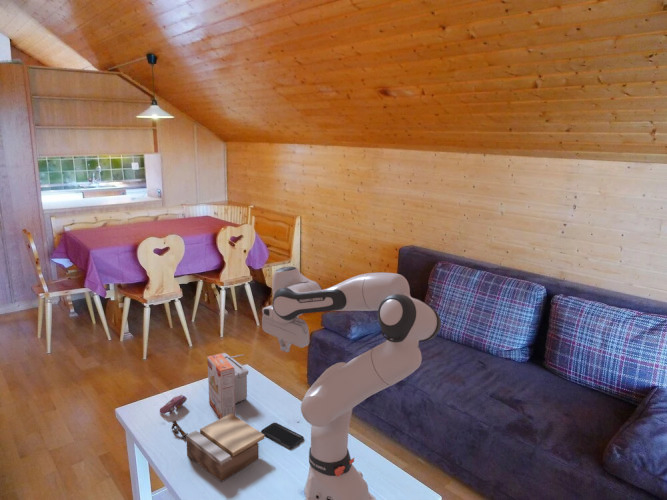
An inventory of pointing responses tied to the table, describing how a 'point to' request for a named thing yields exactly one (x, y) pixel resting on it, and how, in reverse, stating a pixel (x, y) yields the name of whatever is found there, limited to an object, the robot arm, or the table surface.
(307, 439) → the table surface
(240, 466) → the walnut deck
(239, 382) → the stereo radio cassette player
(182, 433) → the wooden post with brackets
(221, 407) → the cracker box
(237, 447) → the oak plank
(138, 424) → the table surface
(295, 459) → the table surface
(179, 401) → the video game controller
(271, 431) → the phone
